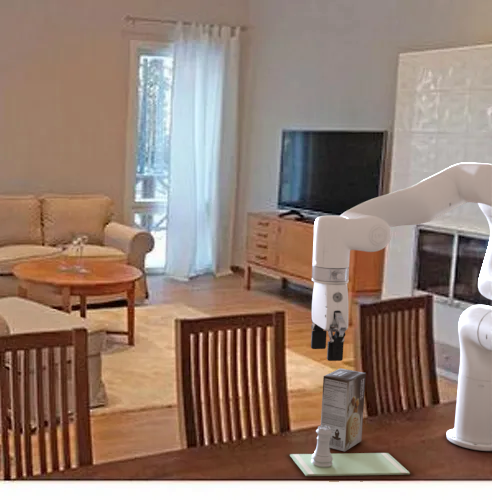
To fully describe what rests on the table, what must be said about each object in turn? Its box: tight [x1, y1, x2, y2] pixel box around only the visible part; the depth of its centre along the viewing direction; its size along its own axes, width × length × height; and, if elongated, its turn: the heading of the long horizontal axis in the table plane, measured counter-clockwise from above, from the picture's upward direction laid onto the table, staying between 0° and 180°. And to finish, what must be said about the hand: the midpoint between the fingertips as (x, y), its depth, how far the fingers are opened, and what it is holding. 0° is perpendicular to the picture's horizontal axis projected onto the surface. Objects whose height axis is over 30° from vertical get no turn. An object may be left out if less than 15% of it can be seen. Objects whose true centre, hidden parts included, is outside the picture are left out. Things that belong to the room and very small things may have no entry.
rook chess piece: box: [311, 424, 333, 468], centre depth 174 cm, size 4×4×8 cm
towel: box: [289, 452, 411, 477], centre depth 176 cm, size 22×11×1 cm, turn 97°
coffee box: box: [320, 368, 367, 453], centre depth 188 cm, size 9×6×16 cm
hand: (326, 354), depth 178 cm, fingers open, 9 cm apart
